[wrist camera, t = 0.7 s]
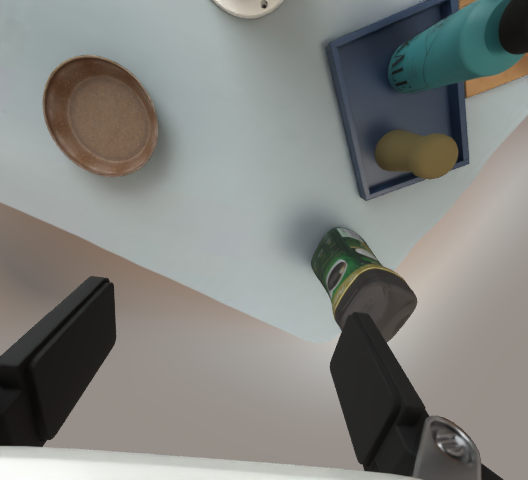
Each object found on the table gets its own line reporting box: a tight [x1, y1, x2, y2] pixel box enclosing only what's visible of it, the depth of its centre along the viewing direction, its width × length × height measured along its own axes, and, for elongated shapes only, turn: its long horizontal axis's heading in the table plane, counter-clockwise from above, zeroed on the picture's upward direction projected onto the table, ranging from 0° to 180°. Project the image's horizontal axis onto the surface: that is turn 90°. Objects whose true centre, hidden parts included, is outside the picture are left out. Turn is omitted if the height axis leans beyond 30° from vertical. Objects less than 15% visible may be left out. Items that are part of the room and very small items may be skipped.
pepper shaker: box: [375, 130, 458, 179], centre depth 35 cm, size 6×6×11 cm
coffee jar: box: [311, 228, 417, 343], centre depth 38 cm, size 10×8×19 cm
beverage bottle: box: [388, 0, 528, 95], centre depth 27 cm, size 6×7×20 cm
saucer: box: [43, 55, 158, 177], centre depth 37 cm, size 15×15×3 cm
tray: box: [325, 0, 469, 201], centre depth 37 cm, size 22×16×2 cm
